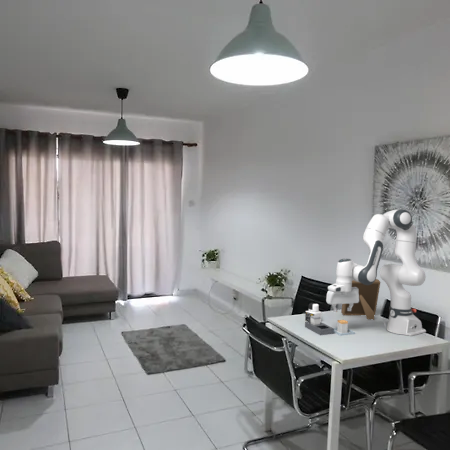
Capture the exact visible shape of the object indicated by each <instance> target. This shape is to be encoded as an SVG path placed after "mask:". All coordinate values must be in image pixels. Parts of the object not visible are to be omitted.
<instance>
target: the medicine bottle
mask: <svg viewBox="0 0 450 450" xmlns="http://www.w3.org/2000/svg"><path fill="white" fill-rule="evenodd" d="M319 306H320V305H319V304H318V303H316V302H315V303H314V302H310V303H308V310H305V315H304V317H305V322H310V321H311V316H315V315H317V316H319V317H321V318H320V322H322V314H323V313H322V311H320V310H319V309H320V308H319Z"/></svg>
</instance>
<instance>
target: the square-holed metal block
mask: <svg viewBox="0 0 450 450" xmlns="http://www.w3.org/2000/svg"><path fill="white" fill-rule="evenodd" d="M304 328H306V329H307V330H310V331H311V332H314V333H315V334H317V335H318V336H327V335H334V334H335V333H334V328H335V327H331V326H330V325H328V324H326V323H324V322H322V321H321V322H320V324H318V325H313V324H311V321H310V322H308V321H305V323H304Z"/></svg>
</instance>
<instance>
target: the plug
mask: <svg viewBox="0 0 450 450" xmlns="http://www.w3.org/2000/svg"><path fill="white" fill-rule="evenodd" d="M336 325H337V327H336V328H337V330H336V331H337V332H339V333H348V331H347V330H348V329H349V327H348V325H349V321H348V320H346V319H345V320H344V319H337V324H336Z"/></svg>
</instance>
